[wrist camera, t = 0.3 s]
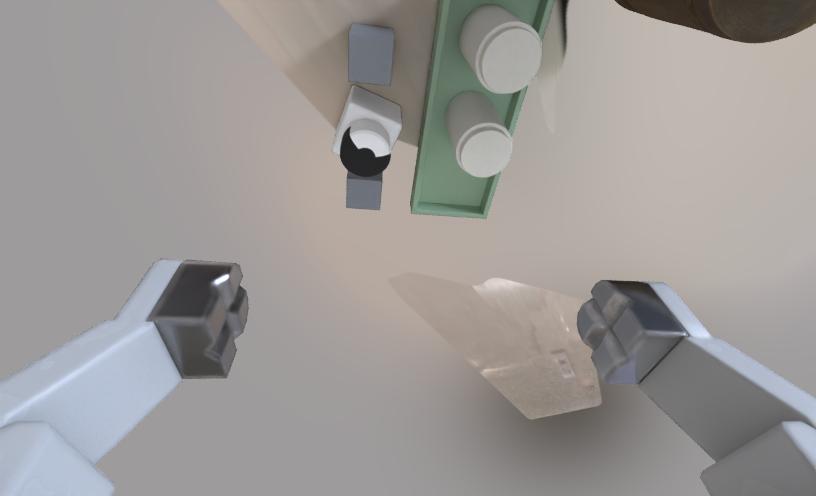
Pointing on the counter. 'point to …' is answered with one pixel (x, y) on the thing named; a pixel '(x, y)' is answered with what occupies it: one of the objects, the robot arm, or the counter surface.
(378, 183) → the grey box
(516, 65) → the white bottle
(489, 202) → the tray
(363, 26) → the grey box
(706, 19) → the wooden container
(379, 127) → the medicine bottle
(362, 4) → the counter surface
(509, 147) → the white bottle
